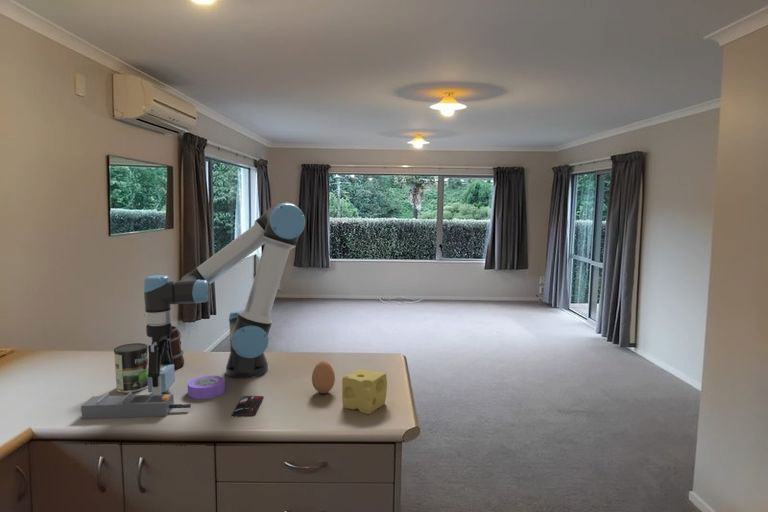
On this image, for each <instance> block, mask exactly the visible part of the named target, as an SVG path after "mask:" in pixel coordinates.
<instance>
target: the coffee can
mask: <svg viewBox="0 0 768 512" xmlns="http://www.w3.org/2000/svg"><path fill="white" fill-rule="evenodd" d="M148 346H149V345H148V344H146V343H141V342H139V343H137V342H134V343H126V344H122V345H118V346H115V348H113V353H114V355H113V356H114V367H115V383H116V387H115V388H116V389H115V390H116V392H119V393H123V394H124V393H125V394H126V393H127V394H129V393H130V392H132V393H136V392H141V391H143V390H145V389H148V378H147V374H148V363H149V350H148Z"/></svg>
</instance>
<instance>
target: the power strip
mask: <svg viewBox="0 0 768 512" xmlns="http://www.w3.org/2000/svg"><path fill="white" fill-rule="evenodd" d="M174 400H175V398H174V394H173V393H171V394H170V393H168V394H166V393H165V394H163V393H162V394H160V395H152V394H135V395H133V392H130V393H127V394H126V395H110V392H107V393H105V394H103V396H102V395H96V396H93V395H92V396H91V397H90V398H88V399H87V400H86V401H85V402H84V403H83V404H82V405H80V407H81V408H80V409H81V411H80V412H81V420H84V419H85V420H90V419H94V420H95V419H118V418H120V419H123V418H147V417H149V418H150V417H153V418H154V417H167V416H168V415H169V414H170V412H171V411H172V410H173V409H191V407H192V403H175V401H174Z"/></svg>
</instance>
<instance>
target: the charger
mask: <svg viewBox="0 0 768 512" xmlns="http://www.w3.org/2000/svg"><path fill="white" fill-rule="evenodd" d="M175 373H176V372H175V370H174V364H172V365H161V366H160V375H159V376H161V389H162V393H166V392H167V391H168V390H170V388H171V387H172V386H173V385H174V384H175V382H176V376H175ZM147 378H148V387H147V392H148V393H152V381H151V377H148V374H147Z"/></svg>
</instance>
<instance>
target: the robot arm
mask: <svg viewBox="0 0 768 512" xmlns="http://www.w3.org/2000/svg"><path fill="white" fill-rule="evenodd" d="M305 227H306V217H305V214H304V212H303V211H302V210H301V208H300V207H298V206H297V205H296V204H293V203H291V202H278V203H275V204H273V205H271V206H270V207H269V208H268V209H266V211H265V212H264V213H262V215H261V216H259V217H258V218H257V219H255V220H254V224H253V225H252V226H251V227H250V228H248V229H247V230H245V231H244V232H243V233H241V234H240V235H239V236H237V237H236V238H234V239H233V240H232V241H231V242H229V243H228V244H227V245H225V246H223V248H221V249H220V250H218V251H217V252H216V253H215V254H213V255H212V256H210V257H209V258H208V259H207V260H205V261H204V262H203V263H201V264H199V265H198V266H197V267H196V268H195V269H193V270H192V271H190V272H188V273H186V274H185V275H183V276H182V277H181V279H180V280H177V281H175V280H174V281H172V280H171V281H170V277H169V275H165V274H163V275H162V274H161V275H160V274H158V275H157V274H155V275H149V276H147V277H146V278H144V280H143V281H144V282H143V285H144V286H143V288H144V289H143V293H144V306H145V307H144V309H145V313H144V315H143V316H144V317H145V322H146V326H145V329H146V336H147V337H148V338H151V345H148V348H147V351H148V377H151V381H152V392H151V395H160V394H163V392H162V389H161V376H159V375H160V366H161V359H162V363H163V365H172V364H174V362H171V361H173V356H172V349H171V341H170V334H171V333H172V326H173V325H172V323H171V322H172V311H171V310H172V307H171V305H185V304H201V303H207V302H208V301H209V286H210V285H211V284H212V283H214V282H215V281H217V280H218V279H219V278H221V277H222V276H224V274H226V273H227V272H229V271H230V270H231V269H233V268H234V267H236V266H237V265H238V264H240V263H241V262H242V261H244V260H245V259H246V258H247V257H249V256H250V255H251V254H253V253H255V251H257V250H258V249H259V248H261V247H262V246H263V245H264V247H263V250H262V253H261V257H260V259H259V263H258V267H257V270H256V272H255V276H254V278H253V282H252V284H251V285H252V286H251V288H250V291H249V295H248V298H247V302H246V305H245V308H244V309H242V310H235V311H232V312H230V313H229V317H228V322H229V323H228V325H229V345H230V346H229V348H230V349H229V350H230V352H229V356H228V358H227V362H226V366H225V374H226V375H227V376H228V377H231V378H235V379H247V378H249V379H250V378H256V377H259V376H262V375H264V374H266V373H267V372H268V371H269V362H268V361H267V358H266V356H265V351H266V349H267V348H268V345H269V334H270V330H271V327H272V324H273V321H272V317H270V316H271V312H272V309H273V306H274V302H275V299H276V297H277V293H278V290H279V286H280V283H281V281H282V280H281V279H282V277H283V274H284V271H285V267H286V265H287V264H286V263H287V260H288V258H289V254H290V250H292V249H294V248H296V247H297V244H298V241H299V238H300V235H302V233H303V231H304V230H305ZM152 339H153V340H152ZM158 352H159V353H158Z"/></svg>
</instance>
